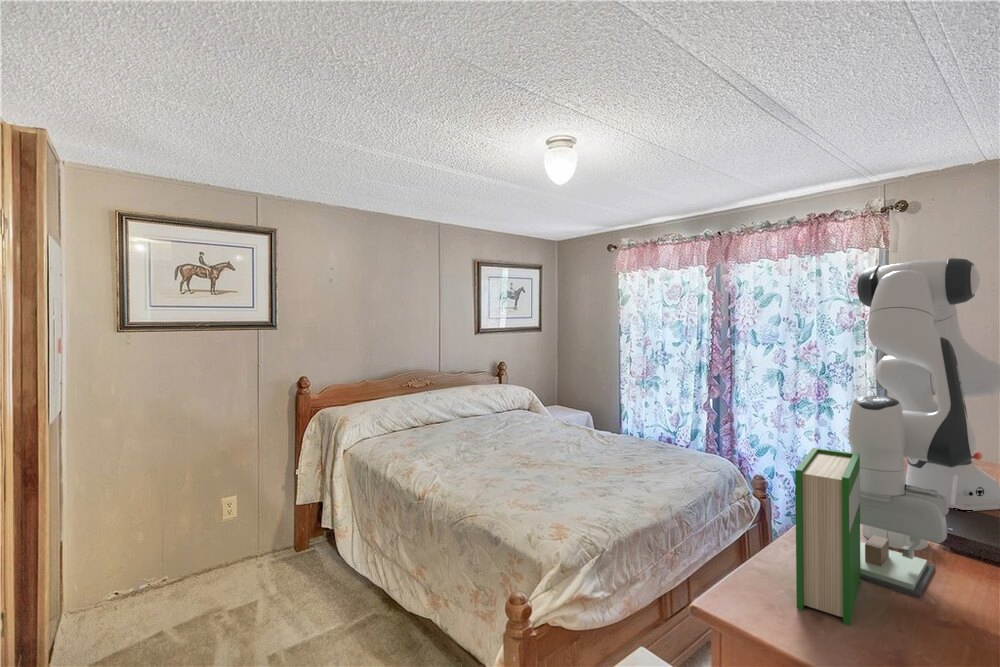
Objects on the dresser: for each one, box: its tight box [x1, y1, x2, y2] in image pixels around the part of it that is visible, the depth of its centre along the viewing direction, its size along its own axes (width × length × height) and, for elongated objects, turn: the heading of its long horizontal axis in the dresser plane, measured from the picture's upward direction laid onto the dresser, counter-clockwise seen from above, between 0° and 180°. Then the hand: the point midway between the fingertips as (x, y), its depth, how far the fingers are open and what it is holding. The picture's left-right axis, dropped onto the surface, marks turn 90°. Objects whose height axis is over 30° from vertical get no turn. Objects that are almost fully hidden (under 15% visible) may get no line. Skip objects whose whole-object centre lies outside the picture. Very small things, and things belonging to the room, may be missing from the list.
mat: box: [860, 562, 936, 599], centre depth 94 cm, size 15×15×1 cm
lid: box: [860, 535, 928, 590], centre depth 94 cm, size 13×13×4 cm
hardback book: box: [794, 447, 862, 627], centre depth 85 cm, size 18×7×24 cm, turn 138°
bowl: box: [861, 524, 928, 551], centre depth 106 cm, size 11×11×6 cm
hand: (877, 548), depth 94 cm, fingers open, 8 cm apart
